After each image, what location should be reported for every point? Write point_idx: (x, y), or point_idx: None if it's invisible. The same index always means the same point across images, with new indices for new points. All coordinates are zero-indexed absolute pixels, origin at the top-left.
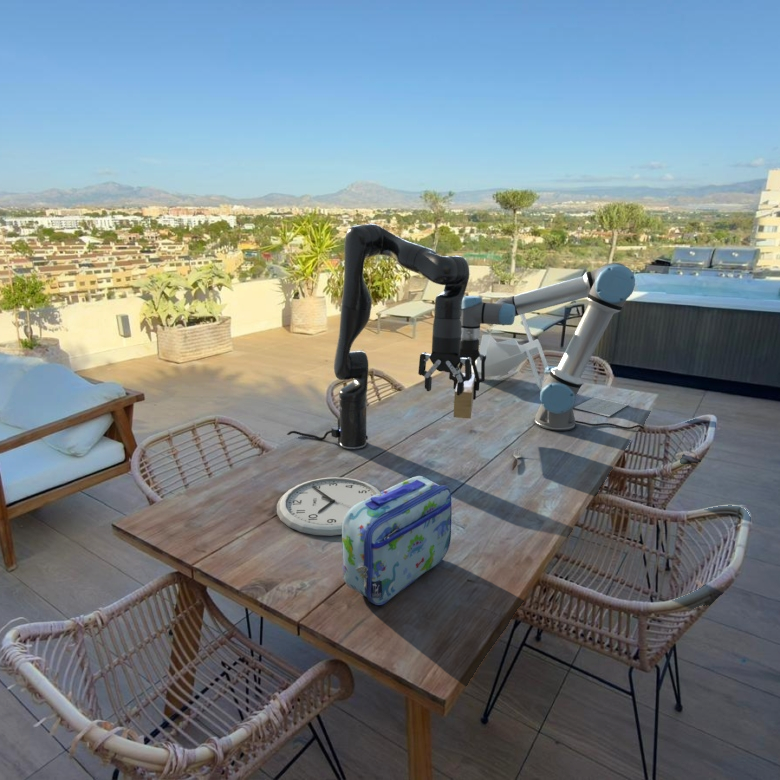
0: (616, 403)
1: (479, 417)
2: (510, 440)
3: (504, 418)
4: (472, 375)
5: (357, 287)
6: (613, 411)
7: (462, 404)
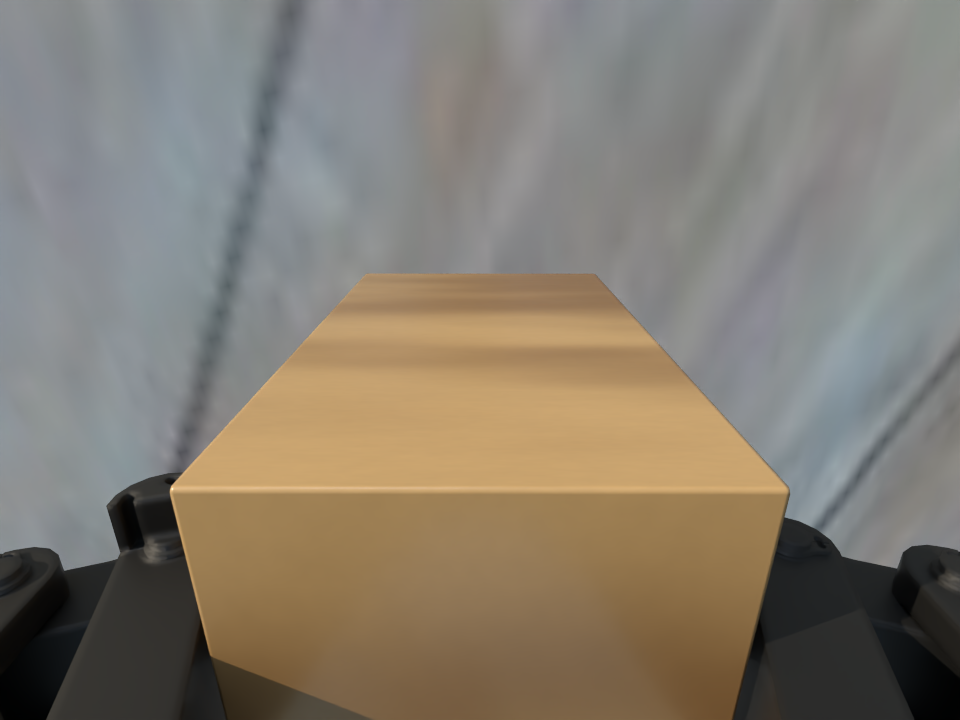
0: None
1: (619, 65)
2: (800, 516)
3: (878, 29)
4: (661, 688)
5: None
6: None
7: None
